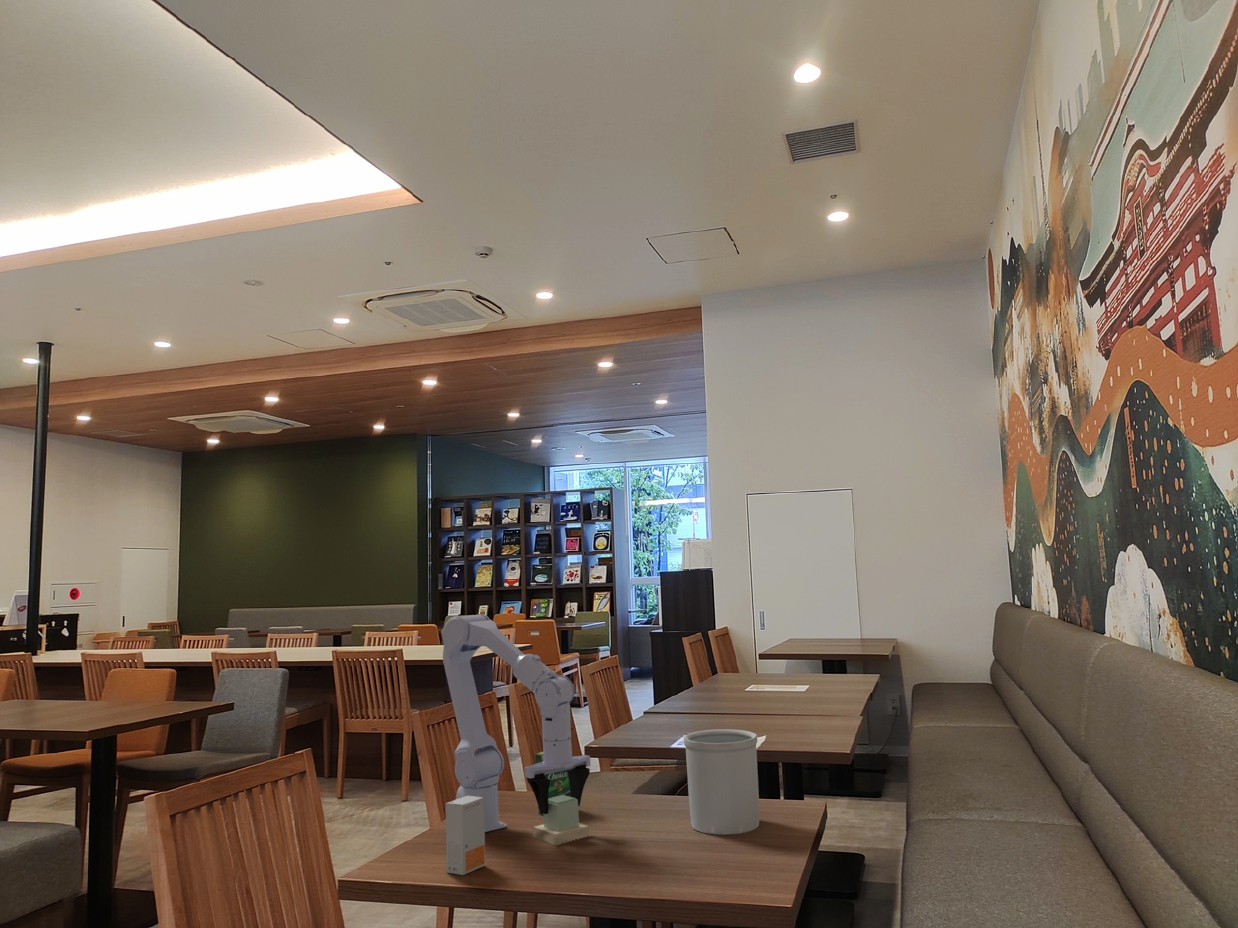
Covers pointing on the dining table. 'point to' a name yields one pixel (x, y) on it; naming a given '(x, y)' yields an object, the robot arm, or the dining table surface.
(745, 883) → the dining table surface
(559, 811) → the sage box
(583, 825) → the maple block
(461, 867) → the skincare box
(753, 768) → the utensil holder
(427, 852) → the dining table surface
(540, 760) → the coffee box
